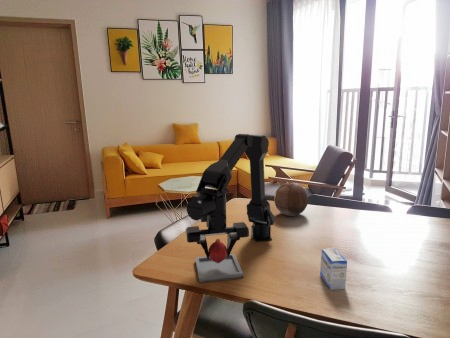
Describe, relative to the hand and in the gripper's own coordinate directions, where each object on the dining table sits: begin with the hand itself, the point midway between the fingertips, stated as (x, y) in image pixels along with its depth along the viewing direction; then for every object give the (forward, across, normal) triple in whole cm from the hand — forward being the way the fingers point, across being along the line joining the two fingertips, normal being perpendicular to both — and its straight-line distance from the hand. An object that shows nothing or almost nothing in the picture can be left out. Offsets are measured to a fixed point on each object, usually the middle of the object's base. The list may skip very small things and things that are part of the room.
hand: (218, 257), depth 100 cm
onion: (+2, 0, 0) cm, 2 cm away
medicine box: (+4, -31, +14) cm, 34 cm away
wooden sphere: (+4, -40, -41) cm, 57 cm away
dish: (+4, 0, 0) cm, 4 cm away
